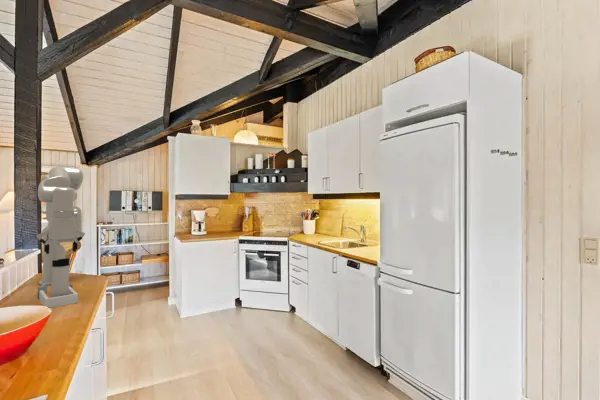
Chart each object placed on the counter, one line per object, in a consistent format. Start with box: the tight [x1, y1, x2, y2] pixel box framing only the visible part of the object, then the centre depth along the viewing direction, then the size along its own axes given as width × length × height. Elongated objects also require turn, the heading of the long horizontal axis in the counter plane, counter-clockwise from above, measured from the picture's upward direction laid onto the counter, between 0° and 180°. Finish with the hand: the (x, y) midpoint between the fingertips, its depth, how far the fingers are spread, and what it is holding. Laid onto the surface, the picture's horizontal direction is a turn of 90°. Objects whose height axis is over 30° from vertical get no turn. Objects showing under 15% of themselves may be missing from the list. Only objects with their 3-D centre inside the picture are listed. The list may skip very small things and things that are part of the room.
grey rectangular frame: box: [38, 283, 79, 309], centre depth 139 cm, size 18×12×4 cm
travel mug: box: [50, 257, 70, 298], centre depth 137 cm, size 6×7×20 cm
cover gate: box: [36, 283, 48, 300], centre depth 145 cm, size 1×11×5 cm, turn 28°
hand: (61, 252), depth 137 cm, fingers open, 9 cm apart
